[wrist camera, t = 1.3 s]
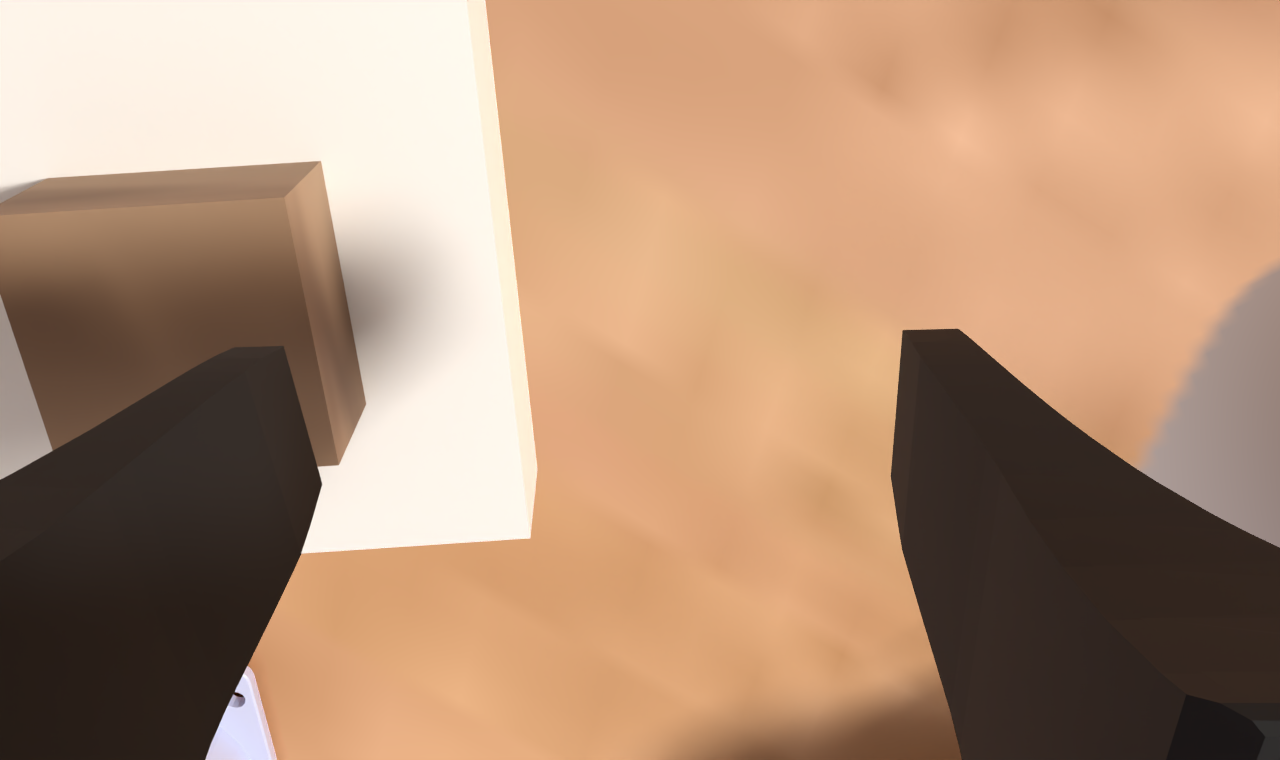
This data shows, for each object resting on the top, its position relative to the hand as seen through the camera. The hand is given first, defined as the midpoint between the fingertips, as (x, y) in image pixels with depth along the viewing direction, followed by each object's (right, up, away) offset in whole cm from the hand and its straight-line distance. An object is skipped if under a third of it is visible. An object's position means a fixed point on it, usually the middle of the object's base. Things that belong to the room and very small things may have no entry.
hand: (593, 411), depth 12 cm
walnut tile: (-8, +1, +7) cm, 10 cm away
